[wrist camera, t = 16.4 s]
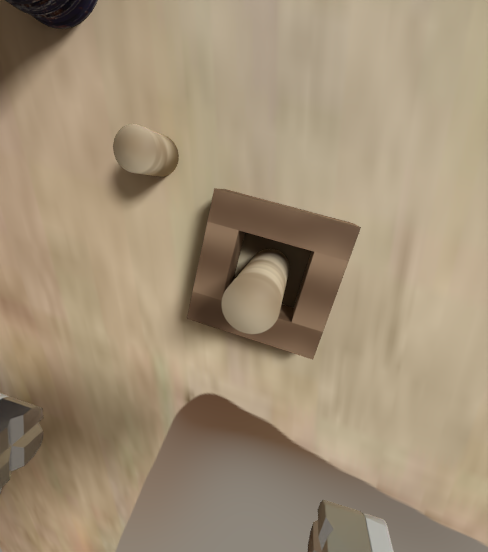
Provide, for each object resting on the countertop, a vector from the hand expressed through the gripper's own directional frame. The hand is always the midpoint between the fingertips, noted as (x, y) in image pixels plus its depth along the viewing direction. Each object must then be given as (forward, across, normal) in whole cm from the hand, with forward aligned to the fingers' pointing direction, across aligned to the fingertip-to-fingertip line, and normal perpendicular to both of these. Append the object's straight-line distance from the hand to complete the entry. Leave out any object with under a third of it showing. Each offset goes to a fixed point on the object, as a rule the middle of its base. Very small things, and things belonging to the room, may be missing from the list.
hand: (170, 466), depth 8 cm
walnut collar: (+25, 0, 0) cm, 25 cm away
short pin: (+25, +14, -9) cm, 30 cm away
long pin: (+25, 0, 0) cm, 25 cm away
